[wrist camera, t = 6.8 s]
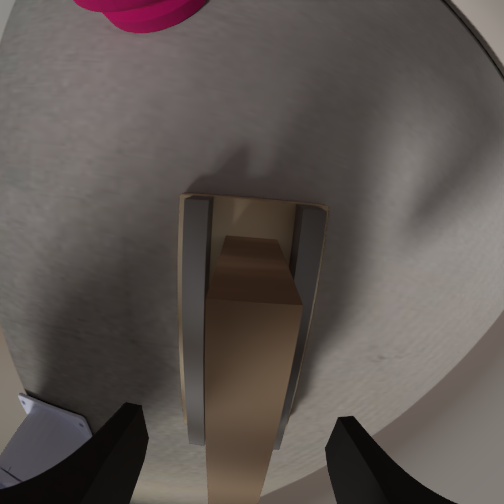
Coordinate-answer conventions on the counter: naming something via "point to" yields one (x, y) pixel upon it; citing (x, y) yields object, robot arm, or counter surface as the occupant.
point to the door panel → (246, 364)
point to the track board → (203, 266)
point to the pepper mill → (143, 12)
